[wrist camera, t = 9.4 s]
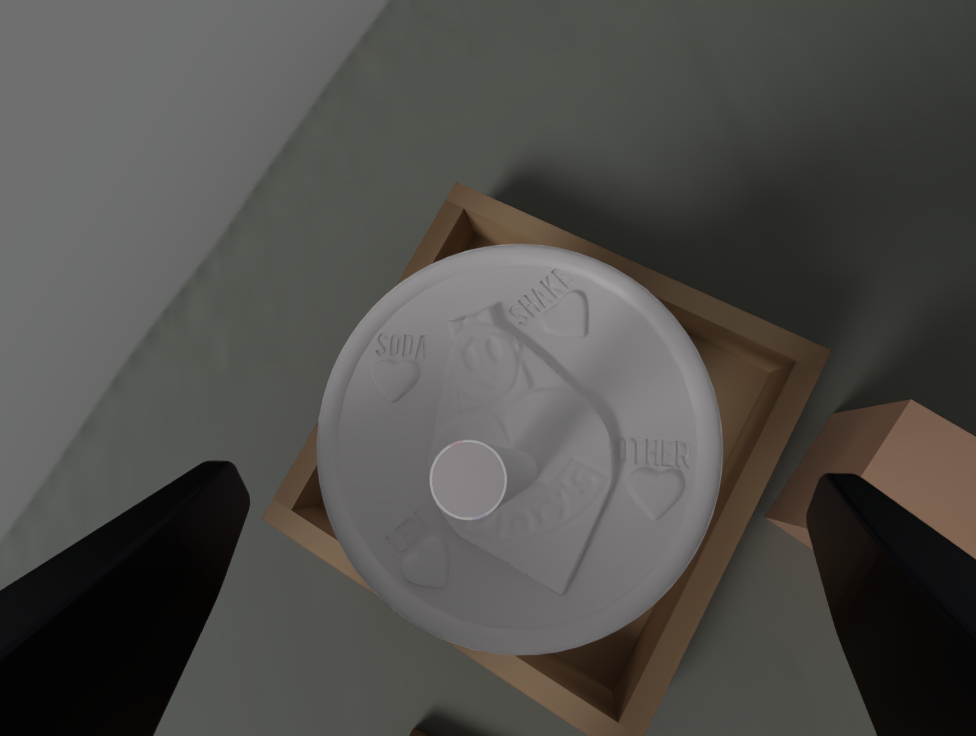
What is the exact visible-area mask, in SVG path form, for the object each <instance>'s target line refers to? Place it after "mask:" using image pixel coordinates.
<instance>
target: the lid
mask: <svg viewBox="0 0 976 736" xmlns="http://www.w3.org/2000/svg"><path fill="white" fill-rule="evenodd" d="M409 736H429V735H427V734H425V733H423V732H421V731H418V730H416V729H414V728H413V730H412V732H411V734H410V735H409Z"/></svg>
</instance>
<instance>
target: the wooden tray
mask: <svg viewBox="0 0 976 736" xmlns="http://www.w3.org/2000/svg"><path fill="white" fill-rule="evenodd" d="M504 244H532V245H544V246H550V247H557V248H561V249H565V250H569V251H573V252H577V253H580V254H583V255H586V256H589V257H591V258H594V259H597V260H599V261H601V262H603V263H605V264H607V265H610V266H612V267H614V268H615V269H617V270H619V271H620V272H622V273H624V274H626V275H627V276H629V277H630V278H632V279H633V280H635V281H636V282H637V283H639V284H640V285H642V286H643V287H644V288H646V289H647V290H648V291H649V292H650V293H651V294H652V295H654V296H655V297H656V298H657V299H658V300H659V301H660V302H661V303H662V304H663V305H664V306H665V307H666V308H667V309H668V310H669V311H670V312H671V313H672V314H673V316H674V317H675V318H676V319H677V321H678V322H679V323H680V325H681V326H682V327H683V329H684V330H685V331H686V332H687V334H688V336H689V337H690V339H691V341H692V342H693V344H694V345H695V347H696V349H697V350H698V352H699V354H700V357H701V359H702V361H703V363H704V365H705V367H706V369H707V372H708V374H709V377H710V380H711V382H712V385H713V388H714V392H715V396H716V399H717V403H718V407H719V413H720V419H721V426H722V438H723V462H722V475H721V481H720V488H719V494H718V498H717V501H716V505H715V509H714V513H713V516H712V518H711V521H710V524H709V526H708V529H707V531H706V534H705V536H704V538H703V540H702V542H701V544H700V546H699V548H698V550H697V552H696V554H695V555H694V557H693V559H692V560H691V562H690V563H689V565H688V566H687V568H686V569H685V571H684V572H683V574H682V575H681V576H680V577H679V578H678V580H677V581H676V582H675V583H674V585H673V586H672V587H671V588H670V589H669V590H668V591H667V592H666V593H665V594H664V595H663V596H662V597H661V598H660V599H659V600H658V601H657V602H656V603H655V604H654V605H653V606H652V607H651V608H649V609H648V610H647V611H646V612H644V613H643V614H642V615H641V616H639V617H638V618H637V619H635V620H634V621H632V622H630V623H629V624H627V625H626V626H624V627H623V628H621V629H619V630H617V631H615V632H613V633H611V634H609V635H607V636H605V637H603V638H601V639H599V640H596V641H594V642H591V643H588V644H585V645H583V646H580V647H576V648H572V649H568V650H564V651H560V652H554V653H547V654H540V655H503V654H493V653H487V652H482V651H477V650H472V649H469V648H465V647H462V646H459V645H455V644H452V643H450V642H448V643H449V644H451V645H452V646H454V647H455V648H457V649H458V650H460V651H461V652H463V653H464V654H466V655H467V656H469V657H470V658H472V659H473V660H475V661H476V662H478V663H479V664H481V665H482V666H484V667H485V668H487V669H488V670H490V671H491V672H493V673H494V674H496V675H497V676H499V677H500V678H502V679H503V680H505V681H506V682H508V683H509V684H511V685H512V686H514V687H515V688H517V689H518V690H520V691H521V692H523V693H524V694H526V695H528V696H529V697H531V698H532V699H534V700H535V701H537V702H538V703H540V704H541V705H543V706H544V707H546V708H547V709H549V710H550V711H552V712H553V713H555V714H556V715H558V716H559V717H561V718H562V719H564V720H565V721H567V722H568V723H570V724H571V725H573V726H574V727H576V728H577V729H579V730H580V731H582V732H583V733H585V734H586V735H588V736H644V735H645V733H646V731H647V729H648V727H649V725H650V723H651V721H652V719H653V717H654V715H655V713H656V711H657V709H658V707H659V705H660V703H661V700H662V698H663V696H664V694H665V692H666V690H667V688H668V686H669V684H670V682H671V680H672V678H673V676H674V674H675V672H676V670H677V668H678V666H679V664H680V662H681V659H682V657H683V655H684V653H685V651H686V649H687V647H688V645H689V643H690V641H691V639H692V637H693V635H694V633H695V631H696V629H697V627H698V625H699V623H700V620H701V618H702V616H703V614H704V612H705V610H706V608H707V606H708V604H709V602H710V600H711V598H712V596H713V594H714V592H715V590H716V588H717V586H718V584H719V581H720V579H721V577H722V575H723V573H724V571H725V569H726V567H727V565H728V563H729V561H730V559H731V557H732V555H733V553H734V551H735V549H736V547H737V545H738V542H739V540H740V538H741V536H742V534H743V532H744V530H745V528H746V526H747V524H748V522H749V520H750V518H751V516H752V514H753V512H754V510H755V508H756V506H757V504H758V501H759V499H760V497H761V495H762V493H763V491H764V489H765V487H766V485H767V483H768V481H769V479H770V477H771V475H772V473H773V471H774V469H775V467H776V465H777V462H778V460H779V458H780V456H781V454H782V452H783V450H784V448H785V446H786V444H787V442H788V440H789V438H790V436H791V434H792V432H793V430H794V428H795V426H796V423H797V421H798V419H799V417H800V415H801V413H802V411H803V409H804V407H805V405H806V403H807V401H808V399H809V397H810V395H811V393H812V391H813V389H814V387H815V385H816V382H817V380H818V378H819V376H820V374H821V372H822V370H823V368H824V366H825V364H826V362H827V360H828V358H829V356H830V354H831V352H832V350H830V349H827V348H825V347H823V346H821V345H819V344H816V343H814V342H812V341H810V340H807V339H805V338H803V337H801V336H799V335H796V334H794V333H792V332H790V331H787V330H785V329H783V328H781V327H778V326H776V325H774V324H772V323H770V322H767V321H765V320H763V319H761V318H758V317H756V316H754V315H752V314H749V313H747V312H745V311H743V310H741V309H738V308H736V307H734V306H732V305H729V304H727V303H725V302H723V301H720V300H718V299H716V298H714V297H712V296H709V295H707V294H705V293H703V292H700V291H698V290H696V289H694V288H692V287H689V286H687V285H685V284H683V283H680V282H678V281H676V280H674V279H671V278H669V277H667V276H665V275H663V274H660V273H658V272H656V271H654V270H651V269H649V268H647V267H645V266H642V265H640V264H638V263H636V262H634V261H631V260H629V259H627V258H625V257H622V256H620V255H618V254H616V253H613V252H611V251H609V250H607V249H605V248H602V247H600V246H598V245H596V244H593V243H591V242H589V241H587V240H585V239H582V238H580V237H578V236H576V235H573V234H571V233H569V232H567V231H564V230H562V229H560V228H558V227H556V226H553V225H551V224H549V223H547V222H544V221H542V220H540V219H538V218H535V217H533V216H531V215H529V214H527V213H524V212H522V211H520V210H518V209H515V208H513V207H511V206H509V205H506V204H504V203H502V202H500V201H498V200H495V199H493V198H491V197H489V196H486V195H484V194H482V193H480V192H478V191H475V190H473V189H471V188H469V187H466V186H464V185H462V184H460V183H457V182H456V183H455V185H454V186H453V188H452V190H451V192H450V193H449V195H448V197H447V199H446V200H445V202H444V204H443V206H442V207H441V209H440V211H439V212H438V214H437V216H436V218H435V219H434V221H433V223H432V225H431V226H430V228H429V230H428V232H427V233H426V235H425V237H424V238H423V240H422V242H421V244H420V245H419V247H418V249H417V251H416V252H415V254H414V256H413V258H412V259H411V261H410V263H409V264H408V266H407V268H406V270H405V271H404V273H403V275H402V277H401V278H400V280H399V282H398V284H399V283H401V282H402V281H404V280H405V279H407V278H408V277H410V276H411V275H413V274H414V273H416V272H418V271H419V270H421V269H423V268H425V267H427V266H429V265H431V264H433V263H435V262H437V261H440V260H442V259H444V258H447V257H449V256H452V255H455V254H458V253H461V252H465V251H468V250H473V249H477V248H482V247H487V246H495V245H504ZM398 284H397V285H398ZM397 285H396V286H397ZM318 421H319V420H318ZM317 432H318V422H317V424H316V426H315V427H314V429H313V431H312V433H311V434H310V436H309V438H308V439H307V441H306V443H305V445H304V446H303V448H302V450H301V452H300V453H299V455H298V457H297V459H296V460H295V462H294V464H293V465H292V467H291V469H290V471H289V472H288V474H287V476H286V478H285V479H284V481H283V483H282V485H281V486H280V488H279V490H278V491H277V493H276V495H275V497H274V498H273V500H272V502H271V504H270V505H269V507H268V509H267V511H266V512H265V514H264V516H263V517H262V519H263V520H264V521H266V522H267V523H269V524H270V525H272V526H273V527H275V528H276V529H278V530H279V531H281V532H282V533H284V534H285V535H287V536H288V537H290V538H291V539H293V540H294V541H296V542H297V543H299V544H300V545H302V546H303V547H305V548H306V549H308V550H309V551H311V552H312V553H314V554H315V555H317V556H318V557H320V558H321V559H323V560H324V561H326V562H327V563H329V564H330V565H332V566H333V567H335V568H336V569H338V570H339V571H341V572H342V573H344V574H345V575H347V576H348V577H350V578H351V579H353V580H354V581H356V582H357V583H359V584H360V585H362V586H363V587H365V588H366V589H368V590H369V591H371V592H372V593H374V592H373V591H372V590H371V589H370V588H369V587H368V585H367V584H366V583H365V582H364V580H363V579H362V578H361V577H360V575H359V574H358V573H357V572H356V570H355V569H354V567H353V566H352V564H351V563H350V561H349V559H348V558H347V556H346V555H345V553H344V551H343V549H342V547H341V545H340V544H339V542H338V540H337V538H336V536H335V533H334V531H333V528H332V526H331V523H330V521H329V518H328V515H327V512H326V509H325V505H324V502H323V498H322V493H321V488H320V483H319V476H318V467H317ZM374 594H375V593H374ZM375 595H376V594H375ZM446 642H447V641H446Z"/></svg>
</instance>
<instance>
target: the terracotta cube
mask: <svg viewBox="0 0 976 736" xmlns="http://www.w3.org/2000/svg"><path fill="white" fill-rule="evenodd" d="M825 473H852V474H856V475H859V476H860V477H862V478H863V479H865V480H866V481H868V482H869V483H870V484H872V485H873V486H875V487H876V488H877V489H879V490H880V491H882V492H883V493H884V494H886V495H887V496H889V497H890V498H891V499H893V500H894V501H896V502H897V503H898V504H900V505H901V506H902V507H904V508H905V509H907V510H908V511H909V512H911V513H912V514H914V515H915V516H916V517H918V518H919V519H921V520H922V521H923V522H925V523H926V524H928V525H929V526H930V527H932V528H933V529H934V530H936V531H937V532H939V533H940V534H941V535H943V536H944V537H946V538H947V539H948V540H950V541H951V542H953V543H954V544H955V545H957V546H958V547H960V548H961V549H962V550H964V551H965V552H966V553H968V554H969V555H971V556H972V557H973V558H975V559H976V437H975V436H973V435H972V434H970V433H968V432H967V431H965V430H963V429H961V428H960V427H958V426H956V425H955V424H953V423H951V422H949V421H948V420H946V419H944V418H942V417H941V416H939V415H937V414H936V413H934V412H932V411H930V410H929V409H927V408H925V407H924V406H922V405H920V404H918V403H917V402H915V401H913V400H912V399H910V400H904V401H899V402H893V403H888V404H882V405H877V406H871V407H866V408H860V409H855V410H849V411H844V412H838V413H833V414H832V415H831V417H830V418H829V420H828V421H827V423H826V424H825V426H824V427H823V429H822V431H821V432H820V434H819V435H818V437H817V438H816V440H815V441H814V443H813V444H812V446H811V447H810V449H809V450H808V452H807V453H806V455H805V456H804V458H803V459H802V461H801V462H800V464H799V465H798V467H797V469H796V470H795V472H794V473H793V475H792V476H791V478H790V479H789V481H788V482H787V484H786V485H785V487H784V488H783V490H782V491H781V493H780V494H779V496H778V497H777V499H776V500H775V502H774V503H773V505H772V507H771V508H770V510H769V511H768V513H767V514H766V516H765V518H767V519H768V520H770V521H771V522H773V523H774V524H776V525H777V526H778V527H780V528H781V529H783V530H784V531H786V532H787V533H789V534H790V535H792V536H793V537H795V538H796V539H798V540H799V541H801V542H802V543H804V544H805V545H807V546H808V547H810V548H811V549H813V547H812V544H811V540H810V537H809V533H808V529H807V524H806V514H807V509H808V507H809V504H810V501H811V499H812V496H813V493H814V491H815V488H816V485H817V483H818V480H819V478H820V477H821V476H822V475H823V474H825Z"/></svg>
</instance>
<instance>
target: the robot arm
mask: <svg viewBox="0 0 976 736" xmlns="http://www.w3.org/2000/svg"><path fill="white" fill-rule="evenodd" d="M249 506H250V497H249V493H248V491H247V489H246V487H245V485H244V483H243V481H242V479H241V477H240V475H239V473H238V471H237V468H236V467H235V465H234V464H233V463H231V462H229V461H205V462H203V463H201V464H200V465H198V466H196V467H195V468H193V469H192V470H190V471H188V472H187V473H185V474H184V475H182V476H181V477H179V478H177V479H176V480H174V481H173V482H171V483H170V484H168V485H166V486H165V487H163V488H162V489H160V490H158V491H157V492H155V493H154V494H152V495H151V496H149V497H147V498H146V499H144V500H143V501H141V502H140V503H138V504H136V505H135V506H133V507H132V508H130V509H128V510H127V511H125V512H124V513H122V514H121V515H119V516H117V517H116V518H114V519H113V520H111V521H110V522H108V523H106V524H105V525H103V526H102V527H100V528H98V529H97V530H95V531H94V532H92V533H91V534H89V535H87V536H86V537H84V538H83V539H81V540H80V541H78V542H76V543H75V544H73V545H72V546H70V547H68V548H67V549H65V550H64V551H62V552H61V553H59V554H57V555H56V556H54V557H53V558H51V559H50V560H48V561H46V562H45V563H43V564H42V565H40V566H38V567H37V568H35V569H34V570H32V571H31V572H29V573H27V574H26V575H24V576H23V577H21V578H20V579H18V580H16V581H15V582H13V583H12V584H10V585H8V586H7V587H5V588H4V589H2V590H1V591H0V736H153V735H154V733H155V731H156V729H157V726H158V724H159V722H160V720H161V718H162V716H163V714H164V711H165V709H166V707H167V705H168V703H169V701H170V699H171V696H172V694H173V692H174V690H175V688H176V686H177V684H178V681H179V679H180V677H181V675H182V673H183V671H184V669H185V666H186V664H187V662H188V660H189V658H190V656H191V654H192V651H193V649H194V647H195V645H196V643H197V641H198V639H199V636H200V634H201V632H202V630H203V628H204V626H205V624H206V621H207V619H208V617H209V615H210V613H211V611H212V608H213V606H214V604H215V602H216V599H217V597H218V595H219V592H220V589H221V587H222V584H223V582H224V579H225V576H226V573H227V570H228V568H229V565H230V562H231V559H232V556H233V553H234V550H235V548H236V545H237V542H238V539H239V536H240V533H241V531H242V528H243V525H244V522H245V519H246V516H247V514H248V511H249ZM806 524H807V529H808V533H809V537H810V540H811V544H812V547H813V551H814V555H815V558H816V562H817V566H818V569H819V573H820V576H821V580H822V584H823V587H824V591H825V594H826V598H827V602H828V605H829V609H830V612H831V616H832V619H833V622H834V626H835V629H836V632H837V635H838V638H839V640H840V643H841V646H842V649H843V651H844V654H845V656H846V659H847V661H848V664H849V666H850V669H851V671H852V674H853V676H854V679H855V681H856V684H857V686H858V689H859V691H860V694H861V696H862V699H863V701H864V704H865V706H866V709H867V711H868V714H869V716H870V719H871V721H872V724H873V726H874V729H875V731H876V734H877V736H976V559H975V558H973V557H972V556H971V555H969V554H968V553H966V552H965V551H964V550H962V549H961V548H960V547H958V546H957V545H955V544H954V543H953V542H951V541H950V540H948V539H947V538H946V537H944V536H943V535H941V534H940V533H939V532H937V531H936V530H934V529H933V528H932V527H930V526H929V525H928V524H926V523H925V522H923V521H922V520H921V519H919V518H918V517H916V516H915V515H914V514H912V513H911V512H909V511H908V510H907V509H905V508H904V507H902V506H901V505H900V504H898V503H897V502H896V501H894V500H893V499H891V498H890V497H889V496H887V495H886V494H884V493H883V492H882V491H880V490H879V489H877V488H876V487H875V486H873V485H872V484H870V483H869V482H868V481H866V480H865V479H863V478H862V477H860V476H859V475H856V474H852V473H825V474H823V475H822V476H821V477H820V478H819V480H818V483H817V485H816V488H815V491H814V493H813V496H812V499H811V501H810V504H809V507H808V509H807V514H806Z"/></svg>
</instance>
